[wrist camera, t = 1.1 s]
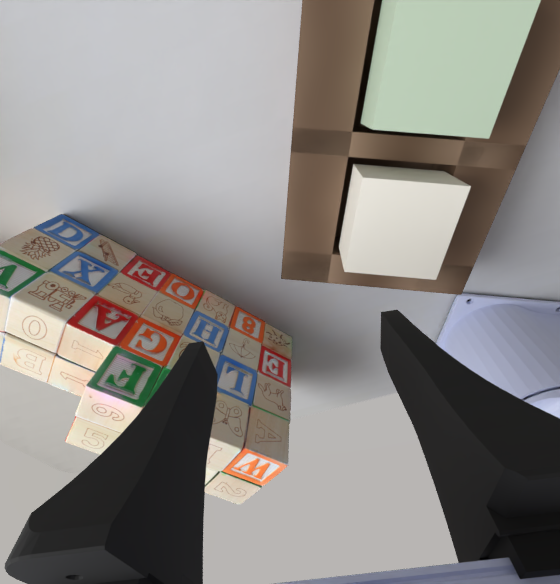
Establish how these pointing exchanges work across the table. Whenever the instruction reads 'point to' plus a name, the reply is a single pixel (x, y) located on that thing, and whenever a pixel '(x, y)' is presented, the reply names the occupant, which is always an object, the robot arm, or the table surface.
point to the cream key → (399, 220)
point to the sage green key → (444, 64)
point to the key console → (394, 144)
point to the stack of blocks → (141, 347)
